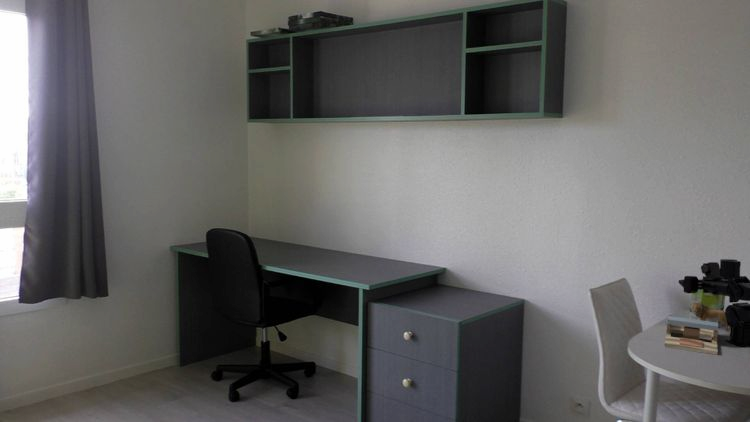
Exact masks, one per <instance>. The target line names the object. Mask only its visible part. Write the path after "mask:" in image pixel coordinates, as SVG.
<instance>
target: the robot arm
mask: <svg viewBox="0 0 750 422" xmlns="http://www.w3.org/2000/svg"><path fill="white" fill-rule="evenodd" d="M719 259H720V260H719V261H720V264H719V262H715V261H710V262H707V263H706V262H705V263H702V265H701V266H700V270H701V274H704V276H702V279H703V280H699V278H698V277H697V276H696V275H684V277H683V278H684V279H679V280H678V283H679V285H680V286H681V287H682V288H683V292H684V293H685V294H692V293H697V292H698V289H703V293H712V294H713V295H723V296H725V297H728V298H729V299H728V300H729V301H728V302H729V303H732V304H729V305H727V306H726V308H725V309H724V310H725V311H724V312H725V315H726V317H725V319H726V322H727V325H728V326H730V327H729V328H730V332H729V339H725V341H726V342H727V343H730V344H733V345H736V346H737V347H741V348H742V347H750V303H749V302H750V278H748V277H747V276H746V275H744V276H743V275H742V276H741V266H742V263H741V261H739V260H737V259H733V258H722V259H721V258H719ZM698 286H702V287H698ZM740 301H745V302H740Z"/></svg>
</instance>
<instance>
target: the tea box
mask: <svg viewBox="0 0 750 422" xmlns="http://www.w3.org/2000/svg"><path fill="white" fill-rule="evenodd" d="M698 280H703V278H698ZM698 287H702V286H698ZM725 301H726V296H723V295H713V294H712V293H703V289H698V292H697V293H691V301H690V307H689V315H688V317H689V318H688V319H694V320H701V318H698V317H697V316H696V315H695V314H693V313H692V311H691V307H692V303H694V302H700V303H701V304H703V305H705V306H707V307H708V308H709V309H710V310H721V311H724V310H725V303H726V302H725ZM724 312H725V311H724ZM706 321H709V322H714V321H717V323H718V324H719V323H720V320H719V318H717V319H713V320H711V319H706Z"/></svg>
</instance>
